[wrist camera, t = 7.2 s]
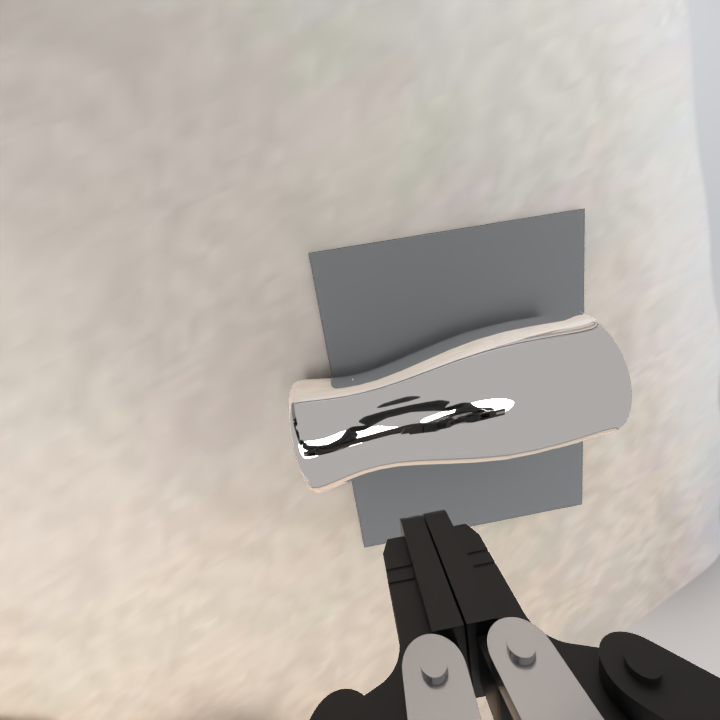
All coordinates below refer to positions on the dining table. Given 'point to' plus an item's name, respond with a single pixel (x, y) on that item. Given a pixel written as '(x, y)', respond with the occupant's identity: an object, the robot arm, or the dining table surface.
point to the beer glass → (464, 401)
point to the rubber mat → (442, 321)
